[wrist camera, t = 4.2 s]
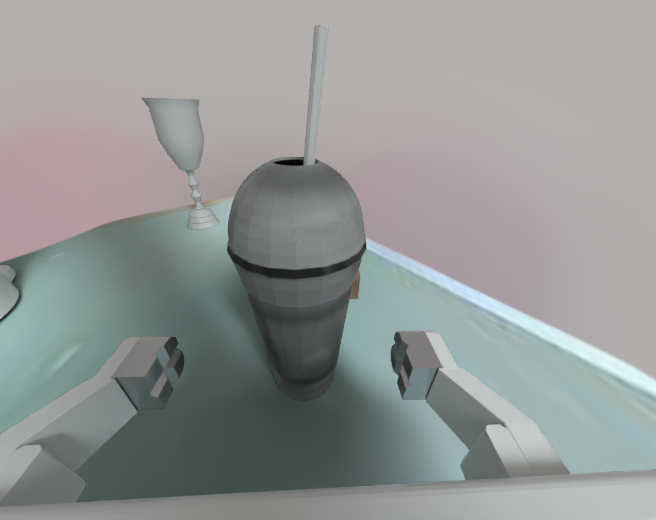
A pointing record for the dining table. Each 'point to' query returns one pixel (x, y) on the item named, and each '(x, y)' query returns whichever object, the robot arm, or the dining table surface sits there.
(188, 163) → the chalice
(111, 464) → the dining table surface
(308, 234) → the beverage cup
